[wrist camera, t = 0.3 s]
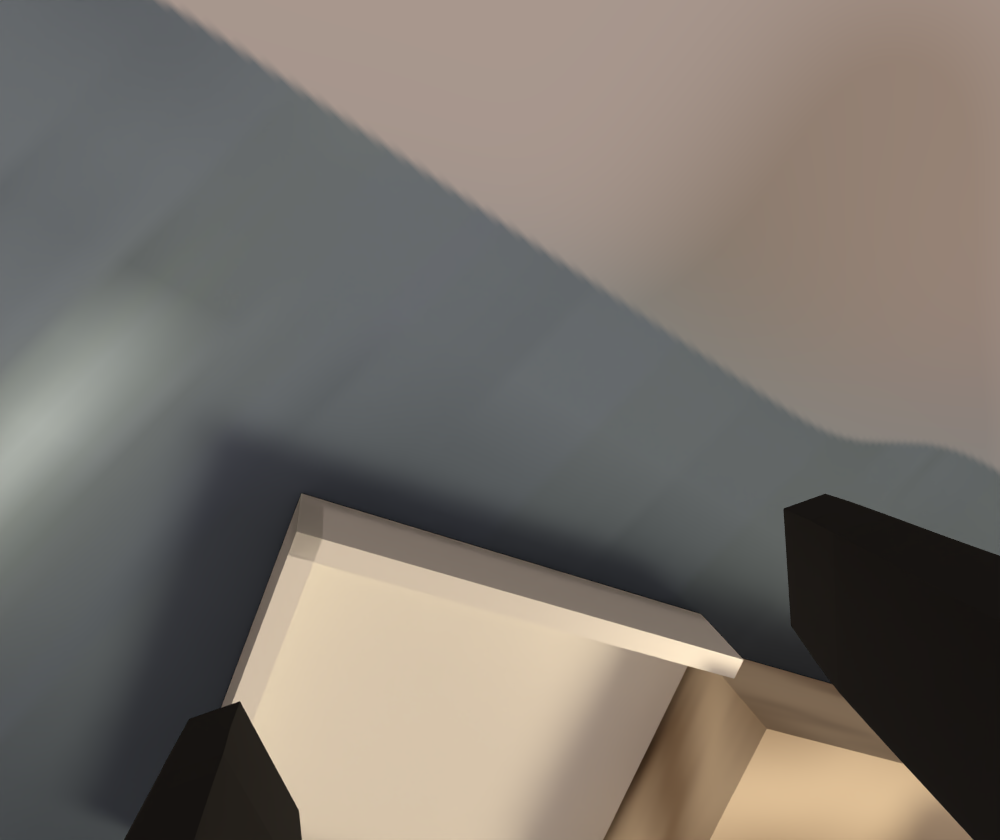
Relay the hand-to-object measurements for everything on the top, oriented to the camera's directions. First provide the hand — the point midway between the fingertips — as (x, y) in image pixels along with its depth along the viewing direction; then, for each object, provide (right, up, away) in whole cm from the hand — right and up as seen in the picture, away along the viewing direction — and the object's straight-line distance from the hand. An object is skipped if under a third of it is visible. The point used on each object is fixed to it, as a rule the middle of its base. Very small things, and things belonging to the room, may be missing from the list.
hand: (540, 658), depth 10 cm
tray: (-2, -6, +12) cm, 14 cm away
